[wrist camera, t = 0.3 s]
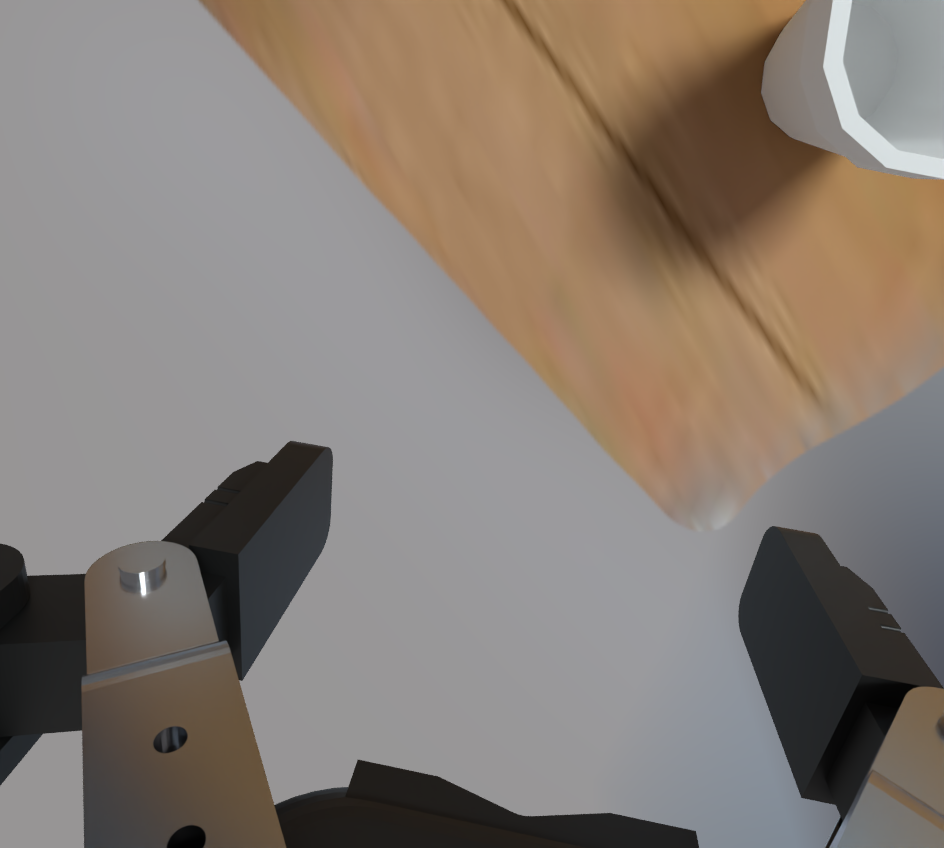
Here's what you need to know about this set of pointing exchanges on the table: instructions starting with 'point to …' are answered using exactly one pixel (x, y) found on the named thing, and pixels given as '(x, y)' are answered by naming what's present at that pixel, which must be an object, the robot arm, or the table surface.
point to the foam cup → (863, 82)
